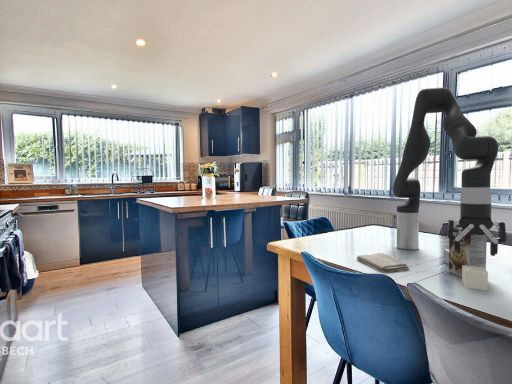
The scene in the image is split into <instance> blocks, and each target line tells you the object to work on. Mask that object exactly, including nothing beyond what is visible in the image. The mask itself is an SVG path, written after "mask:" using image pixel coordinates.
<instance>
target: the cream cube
mask: <svg viewBox="0 0 512 384" xmlns="http://www.w3.org/2000/svg"><path fill="white" fill-rule="evenodd" d="M461 282H462V285H463V286H464V288H466V289H476V290H481V291H488V290H489V288H488V285H489V283H488V282H489V272H488V271H487V269H486V270H485V268H484V267H476V266H466V265H462V277H461Z"/></svg>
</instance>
